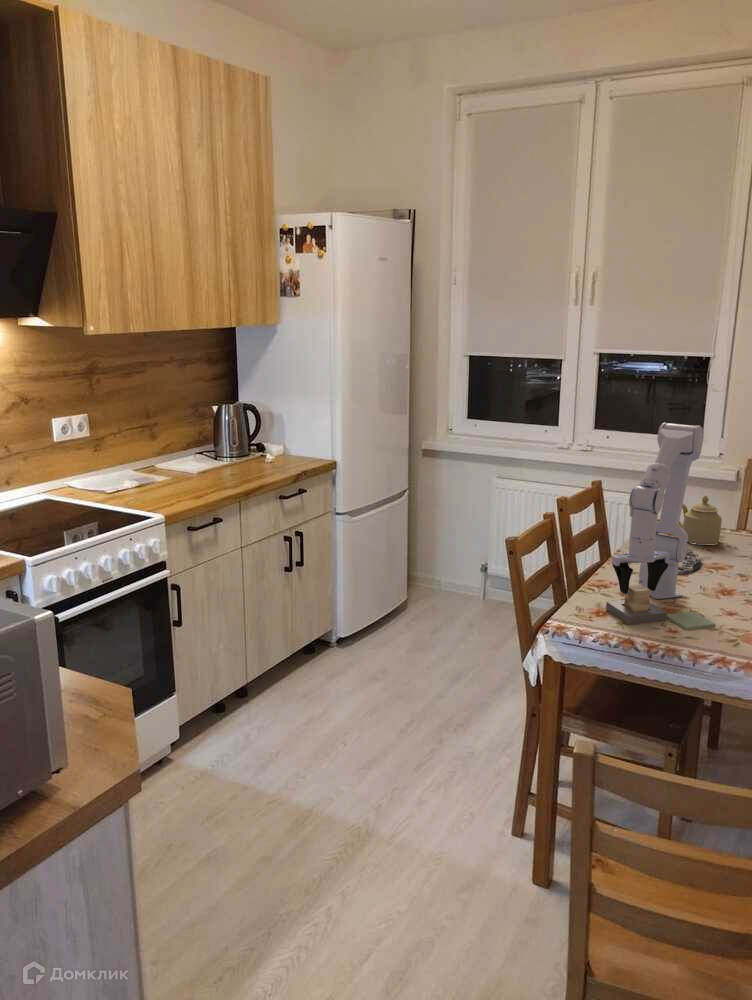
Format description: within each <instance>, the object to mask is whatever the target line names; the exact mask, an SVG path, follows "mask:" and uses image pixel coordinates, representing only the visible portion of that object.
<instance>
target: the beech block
mask: <svg viewBox="0 0 752 1000" xmlns="http://www.w3.org/2000/svg"><path fill="white" fill-rule="evenodd" d="M650 597H651V596H650V589H648V588H646V587H644V586H643V585H641V584H639V583H638V584H631V585H630V584H629V589H628V593H627V594H624V600H625V602H624V607H626V608H627V609H629V610H631V611H632V612H639V611H647V610H648V608H649V602H650V599H651V598H650Z"/></svg>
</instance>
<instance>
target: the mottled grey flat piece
mask: <svg viewBox="0 0 752 1000" xmlns="http://www.w3.org/2000/svg"><path fill="white" fill-rule="evenodd" d="M702 561H703V560H702V559H701V558H699V554H698V553H696V552H693V549H691V548H687V554H686V557H685V559H684V560H683V561H682V562H681V565H678V569H680V570H678V573H677V576H681V575H689V573H690V574H692V573H694V571H697V570H698V569H699V568H700V567H701V565H702V563H703V562H702ZM686 573H687V574H686ZM680 574H681V575H680Z"/></svg>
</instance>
